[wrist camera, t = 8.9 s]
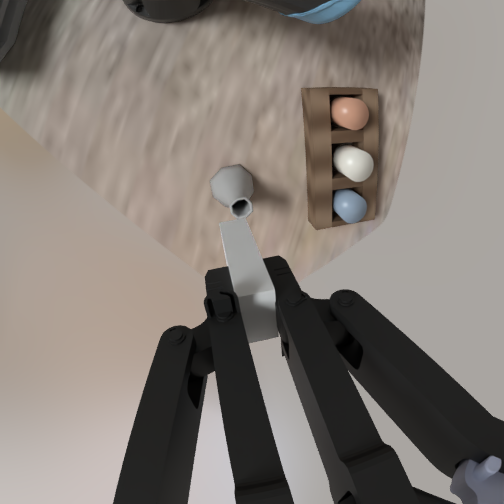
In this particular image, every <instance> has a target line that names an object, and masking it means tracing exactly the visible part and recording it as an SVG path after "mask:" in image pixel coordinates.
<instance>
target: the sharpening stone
mask: <svg viewBox="0 0 504 504" xmlns="http://www.w3.org/2000/svg"><path fill="white" fill-rule="evenodd" d="M27 1H28V0H0V62H1V60H2V59H3V58H4V56H5V55H6V53H7V52H8V51H9V49H10V48H11V47H12V46H13V44H14V43H15V41H16V37H17V33H18V30H19V26H20V22H21V19H22V16H23V13H24V9H25V6H26V3H27Z"/></svg>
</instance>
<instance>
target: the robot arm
mask: <svg viewBox="0 0 504 504" xmlns="http://www.w3.org/2000/svg"><path fill="white" fill-rule="evenodd" d="M212 1H213V0H123V2H124V3H125V5H126V6H127V7H128V8H129V10H130V11H131V12H132V13H134V14H135V15H136V16H138V17H140V18H142V19H145V20H148V21H152V22H159V23H168V22H176V21H180V20H184V19H187V18H189V17H192V16H194V15H196V14H198V13H199V12H201V11H202V10H204V9H205V8H206V7H207V6H208V5H209V4H210V3H211V2H212ZM244 1H247V2H250V3H254V4H257V5H260V6H263V7H266V8H269V9H272V10H274V11H277V12H279V13H280V14H282V15H284V16H288V17H295V18H297V19H300V20H303V21H306V22H308V23H313V24H324V23H329V22H332V21H334V20H336V19H338V18H340V17H342V16H343V15H345V14H346V13H348V12H349V11H350V10H351V9H353V8H354V7H355V6H356V5H357V4H358V3H359V2H360V1H361V0H244ZM219 225H220V230H221V236H222V242H223V247H224V252H225V258H226V263H227V267H222V268H217V269H212V270H208V272H207V274H206V276H205V283H206V292H207V296H206V298H205V300H204V306H205V310H206V313H207V319H206V320H205V321H204V322H203V323H202V324H201V325H199V326H197V327H195V328H193V329H190V328H188V327H186V326H181V325H180V326H173V327H171V328H169V329H167V330H166V331H165V332H164V333H163V334H162V336H161V338H160V341H159V344H158V347H157V350H156V353H155V356H154V359H153V362H152V365H151V368H150V371H149V375H148V378H147V381H146V384H145V387H144V391H143V394H142V397H141V400H140V404H139V407H138V411H137V414H136V417H135V421H134V425H133V428H132V431H131V435H130V438H129V442H128V446H127V449H126V453H125V457H124V461H123V465H122V469H121V473H120V477H119V481H118V485H117V489H116V494H115V497H114V502H113V504H188V497H189V490H190V484H191V477H192V470H193V464H194V457H195V451H196V444H197V438H198V432H199V425H200V419H201V413H202V407H203V401H204V395H205V389H206V383H207V377H208V376H207V375H208V374H210V373H212V372H214V371H215V373H216V380H217V387H218V394H219V400H220V406H221V412H222V418H223V424H224V430H225V436H226V441H227V446H228V452H229V457H230V463H231V468H232V473H233V478H234V483H235V500H236V504H294V502H293V498H292V495H291V492H290V489H289V485H288V482H287V480H286V478H285V474H284V471H283V468H282V465H281V461H280V457H279V454H278V450H277V447H276V444H275V440H274V436H273V433H272V429H271V425H270V422H269V418H268V414H267V411H266V407H265V403H264V400H263V396H262V392H261V389H260V385H259V381H258V377H257V374H256V370H255V366H254V362H253V358H252V355H251V350H250V347H249V343H253V342H257V341H262V340H266V339H270V338H275V337H278V331H279V334H280V337H281V347H282V356H285V357H286V360H287V363H288V366H289V369H290V372H291V374H292V377H293V380H294V383H295V386H296V389H297V392H298V394H299V397H300V400H301V403H302V406H303V409H304V411H305V414H306V417H307V420H308V423H309V426H310V428H311V431H312V434H313V437H314V440H315V443H316V445H317V448H318V451H319V454H320V457H321V459H322V462H323V465H324V468H325V471H326V474H327V477H328V480H329V485H330V492H331V495H332V498H333V501H334V504H455V503H453V502H450V501H447V500H444V499H442V498H439V497H437V496H434V495H432V494H429V493H427V492H424V491H422V490H420V489H417V488H415V487H412V485H411V483H410V481H409V479H408V477H407V475H406V472H405V470H404V468H403V466H402V464H401V462H400V460H399V458H398V455H397V454H396V452H395V450H394V449H393V448H392V447H391V446H389V445H387V444H385V443H384V442H383V441H382V439H381V438H380V436H379V434H378V431H377V429H376V427H375V425H374V423H373V421H372V419H371V417H370V415H369V413H368V410H367V409H366V407H365V404H364V402H363V400H362V398H361V396H360V394H359V392H358V390H357V388H356V386H355V384H354V382H353V380H352V378H351V376H350V374H349V372H350V373H351V374H352V375H353V376H354V378H355V379H356V380H357V381H358V382H359V383H360V384H361V385H362V386H363V387H364V389H365V390H366V391H367V392H368V393H369V394H370V395H371V397H372V398H373V399H374V400H375V401H376V402H377V403H378V405H379V406H380V407H381V408H382V409H383V410H384V411H385V412H386V413H387V415H388V416H389V417H390V418H391V419H392V420H393V421H394V422H395V423H396V425H397V426H398V427H399V428H400V429H401V430H402V431H403V432H404V434H405V435H406V436H407V437H408V438H409V439H410V440H411V441H412V443H413V444H414V445H415V446H416V447H417V448H418V449H419V450H420V451H421V453H422V454H423V455H424V456H425V457H426V458H427V459H428V460H429V461H430V462H431V463H432V464H433V465H434V466H435V467H436V468H437V469H438V470H440V471H441V472H442V473H444V474H445V475H447V476H448V477H450V478H452V484H451V486H450V491H451V492H452V493H453V494H455V495H457V496H458V497H459V498H460V499H461V501H462V503H463V504H504V421H502V420H500V419H497V418H495V417H493V416H492V415H491V414H490V413H489V412H488V411H487V410H486V409H485V408H484V407H483V406H482V405H480V403H479V402H477V401H476V400H475V399H474V398H473V397H472V396H471V395H470V394H469V393H468V392H467V391H466V390H465V389H464V388H463V387H462V386H460V384H458V382H456V381H455V380H454V379H453V378H452V377H451V376H450V375H449V374H448V373H447V372H445V370H444V369H442V368H441V367H440V366H439V365H438V364H437V363H436V362H435V361H434V360H433V359H432V358H430V357H429V356H428V355H427V354H426V353H425V352H424V351H423V350H422V349H421V348H419V347H418V346H417V345H416V344H415V343H414V342H413V341H412V340H410V339H409V338H408V337H407V336H406V335H405V334H404V333H403V332H402V331H400V330H399V329H398V328H397V327H396V326H395V325H394V324H392V323H391V322H390V321H389V320H388V319H387V318H386V317H384V316H383V315H382V314H381V313H380V312H379V311H378V310H376V309H375V308H374V307H373V306H372V305H371V304H369V303H368V302H367V301H366V300H365V299H363V297H361V296H360V295H359V294H358V293H356V292H354V291H352V290H339V291H336V292H334V293H333V294H332V295H331V297H330V299H314V298H310V296H309V295H308V294H307V293H305V292H303V291H301V288H300V287H299V285H298V283H297V281H296V279H295V277H294V275H293V273H292V271H291V269H290V268H289V265H288V263H287V262H286V260H285V259H283V258H282V257H280V256H274V257H269V258H264V259H262V257H261V254H260V252H259V249H258V247H257V245H256V242H255V240H254V237H253V235H252V233H251V230H250V228H249V225H248V223H247V220H246V218H242V219H236V220H231V221H226V222H220V223H219ZM348 371H349V372H348Z"/></svg>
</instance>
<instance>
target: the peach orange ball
mask: <svg viewBox="0 0 504 504" xmlns="http://www.w3.org/2000/svg"><path fill="white" fill-rule="evenodd" d="M368 118H369V111H368V108H367V106H366V104H365V103H364V102H363V101H361V100H359V99H355V98H349V97H342V96H338V97H334V98H333V99H331V100H330V120H331V122H332V123H334V124H336V125H339V126H342V127H345V128H348V129H351V130H359V129H361V128H363V127H364V126H365V125H366V123H367V121H368Z"/></svg>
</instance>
